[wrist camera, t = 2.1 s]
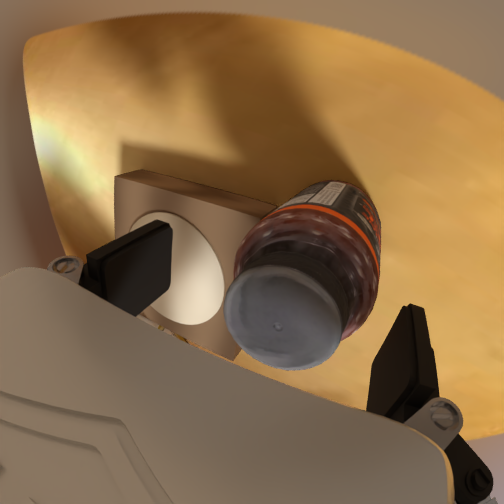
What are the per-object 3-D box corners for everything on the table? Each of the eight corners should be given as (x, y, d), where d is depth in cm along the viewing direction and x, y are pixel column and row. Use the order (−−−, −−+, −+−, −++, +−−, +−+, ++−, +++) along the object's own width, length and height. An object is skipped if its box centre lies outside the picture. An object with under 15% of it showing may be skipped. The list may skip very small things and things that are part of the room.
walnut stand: (277, 206, 20) (258, 219, 17) (248, 339, 25) (231, 362, 23) (140, 169, 23) (112, 176, 21) (140, 288, 29) (118, 303, 26)
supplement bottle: (391, 256, 18) (388, 387, 8) (307, 275, 21) (237, 394, 11) (364, 165, 17) (344, 211, 7) (277, 193, 20) (169, 262, 10)
